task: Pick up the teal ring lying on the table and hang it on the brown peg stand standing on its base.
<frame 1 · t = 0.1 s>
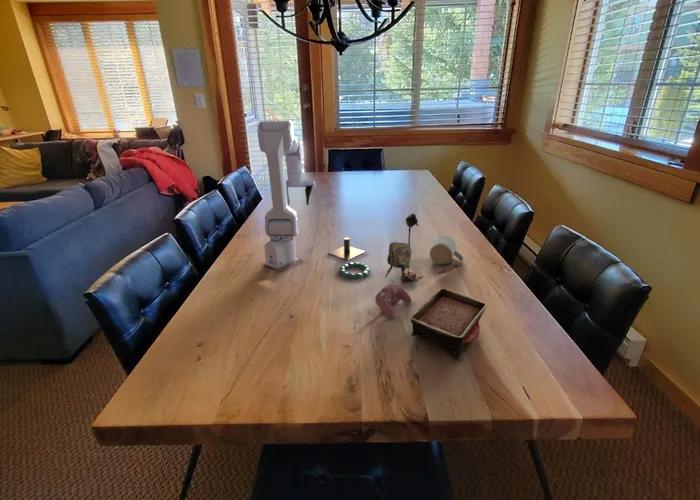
hand: (298, 203, 147), 11 cm above the table, tool pointing down, fingers open, 7 cm apart
baking dish: (445, 336, 86), on the table
brown peg stand: (347, 255, 127), on the table
video game controller: (392, 308, 97), on the table
ceramic mug: (445, 261, 122), on the table
ring: (354, 271, 114), point 1 cm above the table
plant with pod: (403, 281, 110), on the table
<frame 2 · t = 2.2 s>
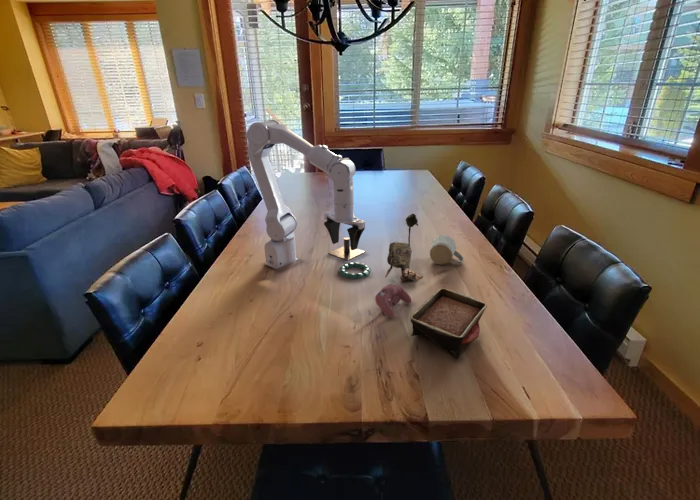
hand: (344, 245, 113), 8 cm above the table, tool pointing down, fingers open, 7 cm apart
nothing on the table moved.
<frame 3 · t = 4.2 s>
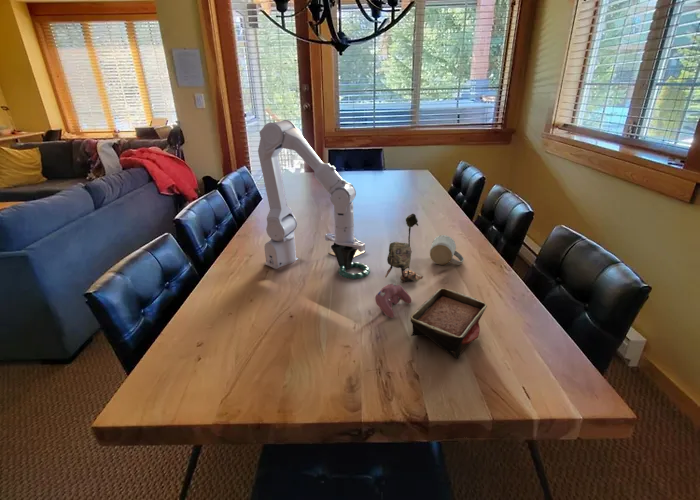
hand: (345, 266, 116), 1 cm above the table, tool pointing down, fingers closed on ring, 2 cm apart
ring: (354, 271, 114), point 1 cm above the table, touching gripper
everything else where it was.
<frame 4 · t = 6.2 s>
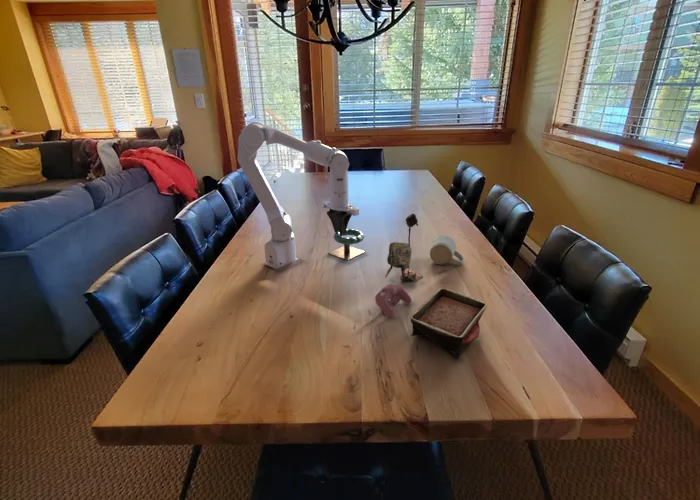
hand: (340, 232, 121), 9 cm above the table, tool pointing down, fingers closed on ring
ring: (348, 236, 119), point 9 cm above the table, touching gripper
everything else where it was.
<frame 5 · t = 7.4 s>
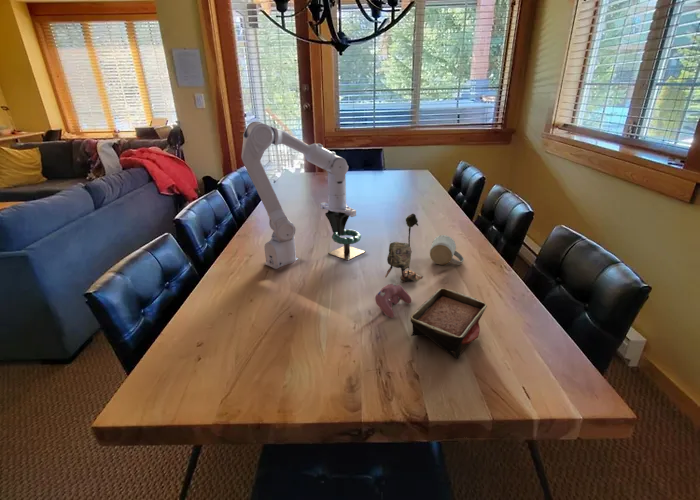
hand: (338, 232, 126), 7 cm above the table, tool pointing down, fingers closed on ring
ring: (346, 236, 124), point 7 cm above the table, touching gripper
everything else where it was.
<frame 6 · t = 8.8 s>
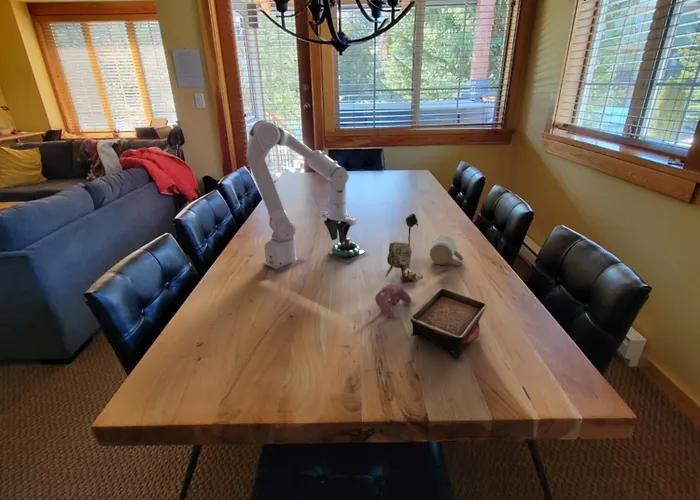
hand: (338, 240, 128), 4 cm above the table, tool pointing down, fingers open, 3 cm apart
ring: (345, 249, 126), point 2 cm above the table, touching brown peg stand
everything else where it was.
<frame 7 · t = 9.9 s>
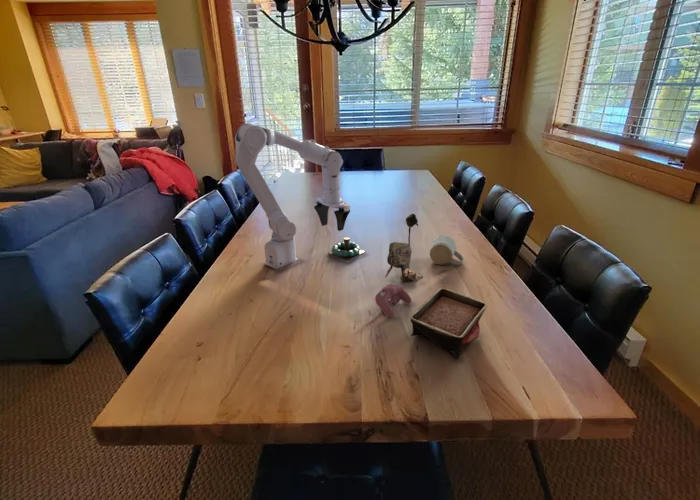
hand: (332, 227, 126), 9 cm above the table, tool pointing down, fingers open, 7 cm apart
nothing on the table moved.
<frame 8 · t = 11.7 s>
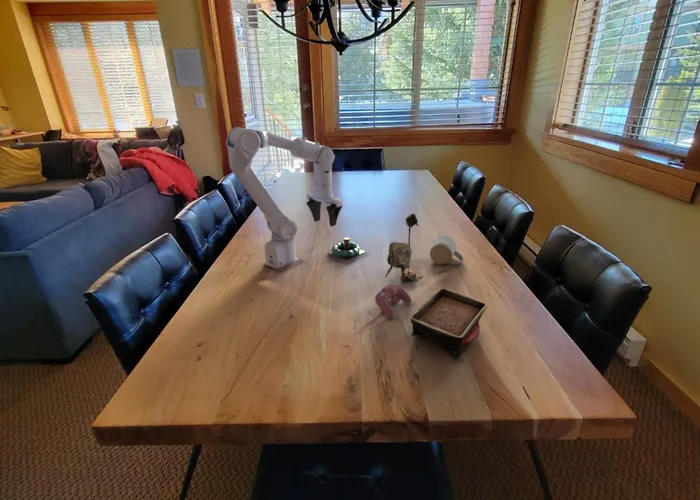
hand: (325, 223, 126), 10 cm above the table, tool pointing down, fingers open, 7 cm apart
nothing on the table moved.
at the end: ring 0.4 cm from the brown peg stand (horizontally); ring point 2.2 cm above the table; the gripper is holding nothing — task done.
